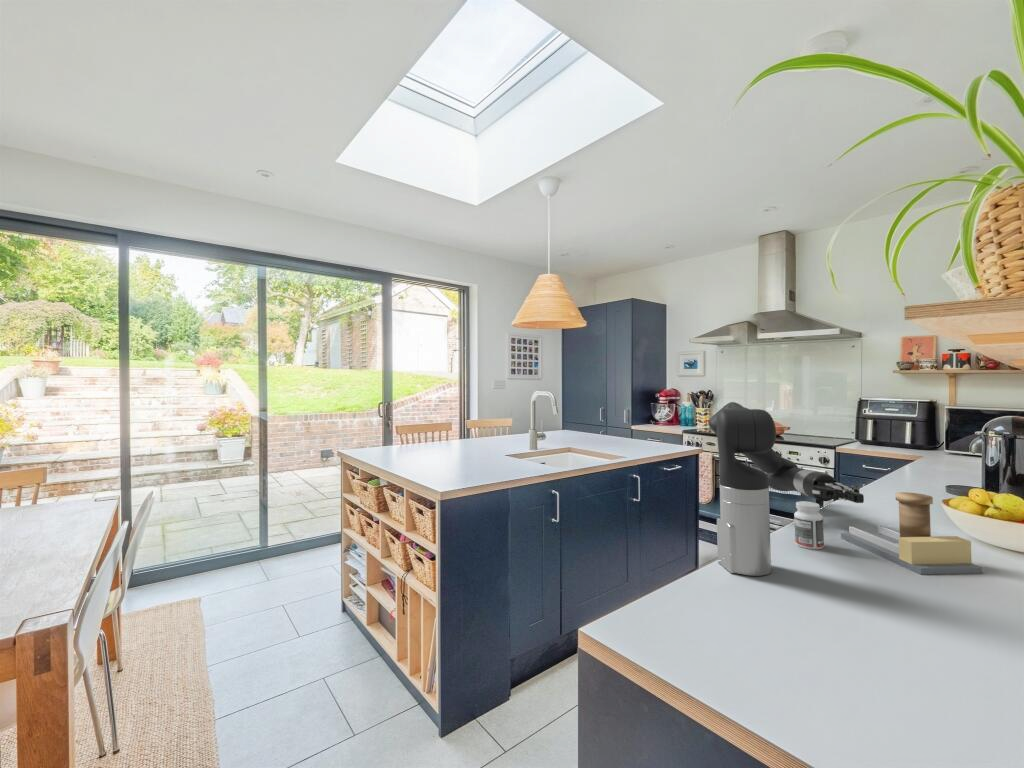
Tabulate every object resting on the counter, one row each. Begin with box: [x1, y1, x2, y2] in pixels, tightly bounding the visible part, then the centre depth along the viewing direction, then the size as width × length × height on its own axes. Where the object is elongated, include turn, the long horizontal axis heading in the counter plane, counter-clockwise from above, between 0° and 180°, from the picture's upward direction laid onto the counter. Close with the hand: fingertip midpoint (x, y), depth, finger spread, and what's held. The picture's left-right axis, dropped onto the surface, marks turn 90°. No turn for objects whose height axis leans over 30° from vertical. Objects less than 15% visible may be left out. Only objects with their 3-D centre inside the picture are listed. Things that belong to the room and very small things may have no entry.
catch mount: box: [840, 525, 983, 575], centre depth 100 cm, size 12×22×6 cm, turn 179°
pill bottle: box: [793, 500, 825, 550], centre depth 106 cm, size 6×6×10 cm
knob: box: [894, 491, 934, 545], centre depth 97 cm, size 6×6×12 cm
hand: (860, 498), depth 112 cm, fingers closed
